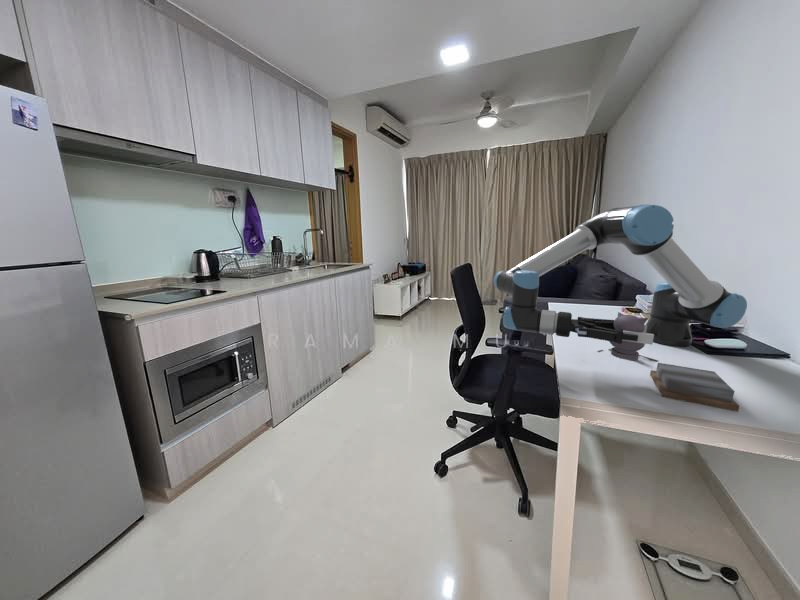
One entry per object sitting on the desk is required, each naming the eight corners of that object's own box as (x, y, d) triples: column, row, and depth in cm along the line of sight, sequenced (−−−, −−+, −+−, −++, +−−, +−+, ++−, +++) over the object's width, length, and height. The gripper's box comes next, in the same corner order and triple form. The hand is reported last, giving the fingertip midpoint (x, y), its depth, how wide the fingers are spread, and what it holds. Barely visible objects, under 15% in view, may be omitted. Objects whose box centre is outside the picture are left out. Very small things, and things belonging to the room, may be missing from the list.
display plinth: (649, 374, 90) (652, 360, 89) (714, 386, 84) (717, 370, 83) (662, 396, 78) (665, 380, 77) (737, 411, 72) (742, 394, 71)
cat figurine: (599, 352, 89) (605, 312, 87) (616, 348, 92) (622, 310, 90) (631, 363, 82) (638, 320, 79) (648, 358, 85) (656, 317, 82)
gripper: (556, 326, 104) (639, 336, 93) (553, 345, 86) (655, 361, 75) (558, 304, 102) (643, 312, 91) (555, 320, 84) (661, 332, 74)
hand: (649, 334), depth 83 cm, fingers closed on cat figurine, 8 cm apart
